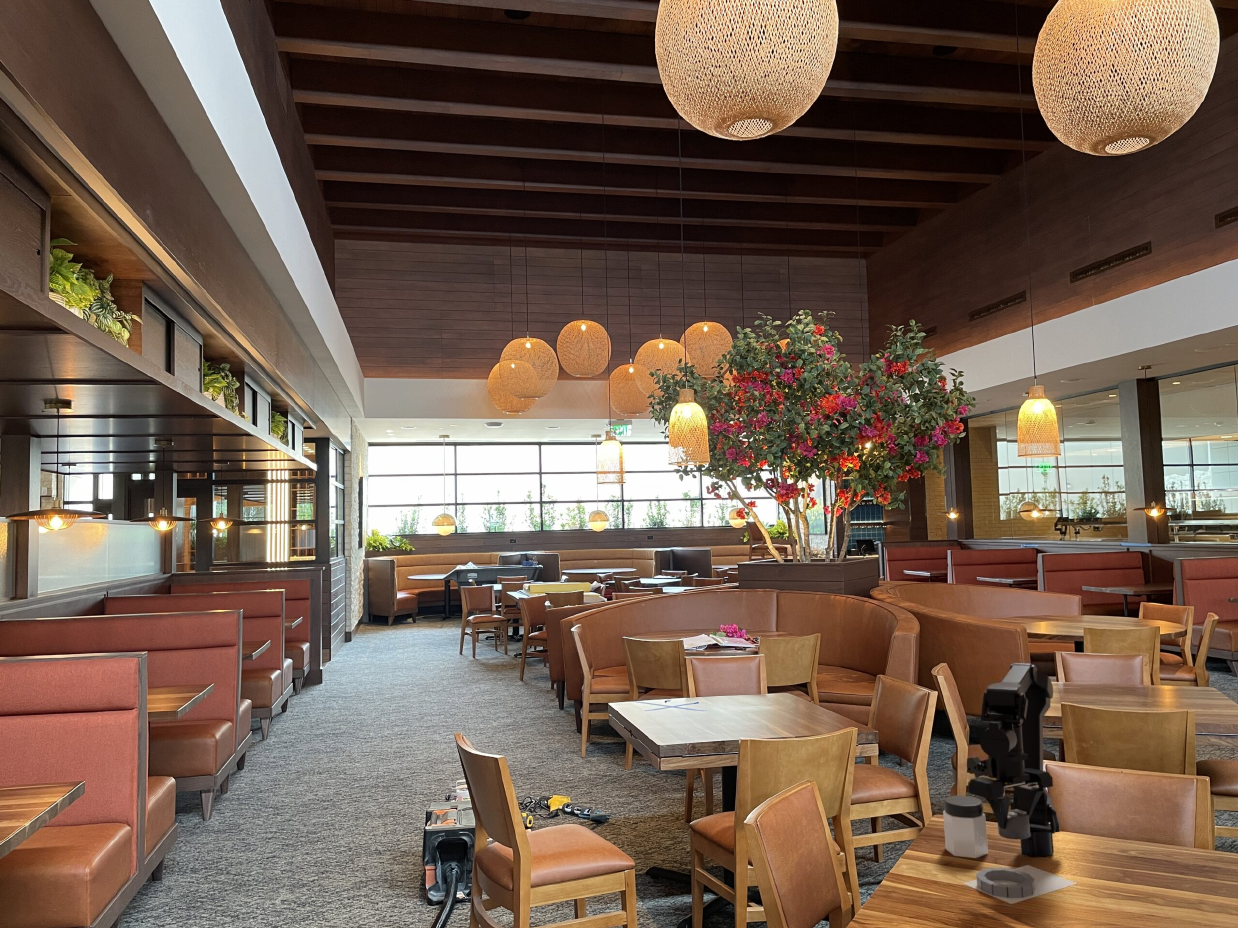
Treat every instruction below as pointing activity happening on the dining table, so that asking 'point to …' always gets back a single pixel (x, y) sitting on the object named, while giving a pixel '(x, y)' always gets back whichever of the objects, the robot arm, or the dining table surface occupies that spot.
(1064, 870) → the dining table surface
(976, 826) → the jar
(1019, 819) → the cap
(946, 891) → the dining table surface
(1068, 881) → the plate
